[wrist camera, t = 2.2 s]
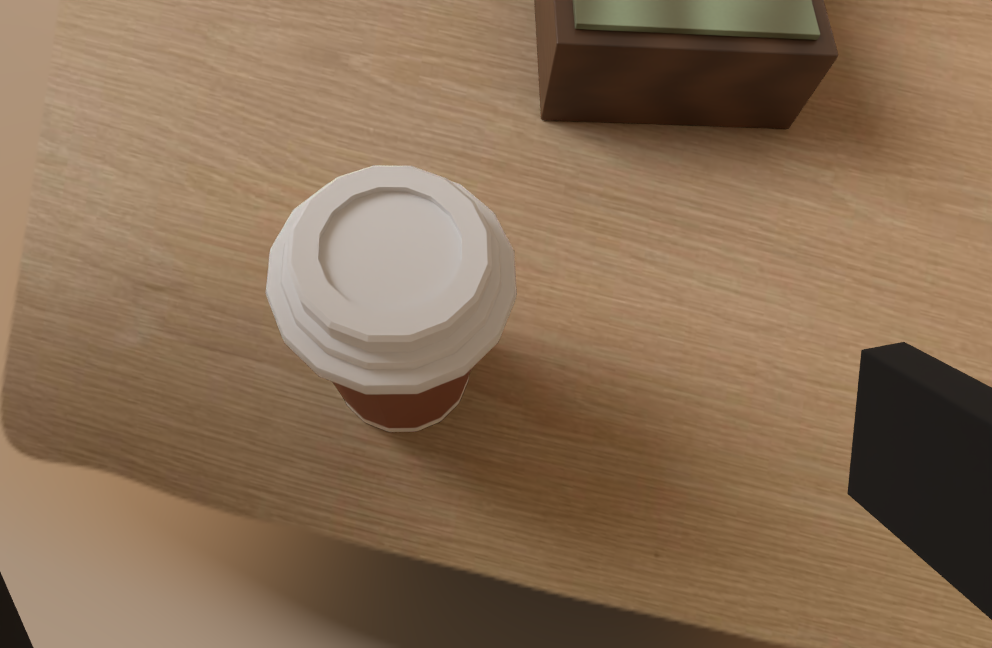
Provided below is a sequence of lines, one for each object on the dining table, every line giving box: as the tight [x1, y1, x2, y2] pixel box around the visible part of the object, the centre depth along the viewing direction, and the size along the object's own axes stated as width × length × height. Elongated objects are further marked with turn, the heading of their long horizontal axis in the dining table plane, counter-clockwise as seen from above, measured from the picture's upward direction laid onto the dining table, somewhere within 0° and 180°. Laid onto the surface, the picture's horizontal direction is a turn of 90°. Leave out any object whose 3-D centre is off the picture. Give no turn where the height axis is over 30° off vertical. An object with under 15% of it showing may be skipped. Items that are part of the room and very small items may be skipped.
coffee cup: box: [266, 165, 517, 432], centre depth 31 cm, size 9×9×12 cm
